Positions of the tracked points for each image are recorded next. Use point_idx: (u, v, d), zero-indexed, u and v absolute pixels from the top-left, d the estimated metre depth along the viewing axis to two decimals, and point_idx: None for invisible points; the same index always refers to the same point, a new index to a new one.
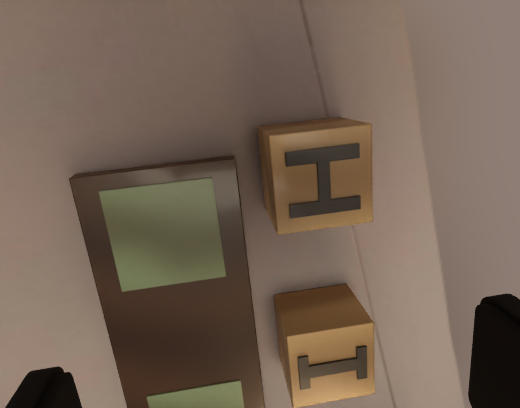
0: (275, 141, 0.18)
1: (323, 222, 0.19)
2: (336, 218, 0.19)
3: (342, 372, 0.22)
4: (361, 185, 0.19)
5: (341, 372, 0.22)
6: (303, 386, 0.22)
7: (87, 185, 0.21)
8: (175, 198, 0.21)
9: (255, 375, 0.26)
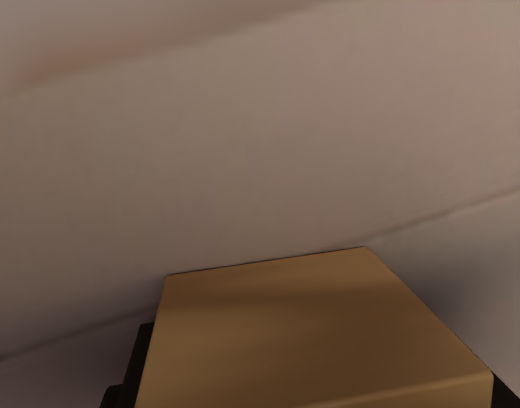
0: None
1: None
2: None
3: None
4: None
5: None
6: None
7: None
8: None
9: None
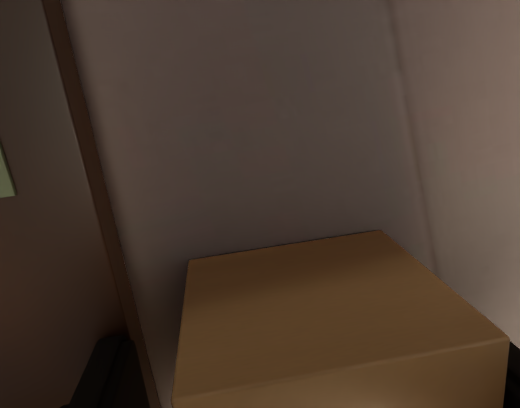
0: None
1: None
2: None
3: None
4: None
5: None
6: None
7: None
8: None
9: None
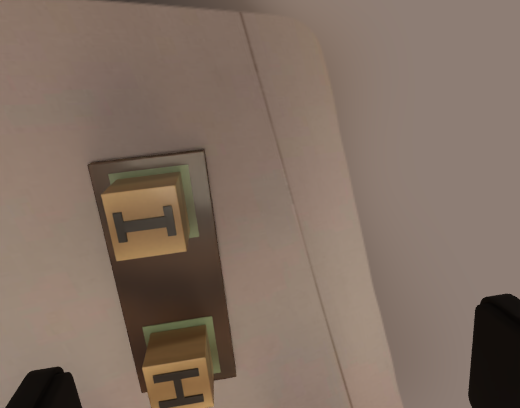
0: (146, 370, 0.30)
1: None
2: (189, 406, 0.31)
3: (154, 229, 0.27)
4: (203, 388, 0.31)
5: (153, 228, 0.27)
6: (120, 240, 0.26)
7: (100, 169, 0.29)
8: None
9: (223, 312, 0.34)
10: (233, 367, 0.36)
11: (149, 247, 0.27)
